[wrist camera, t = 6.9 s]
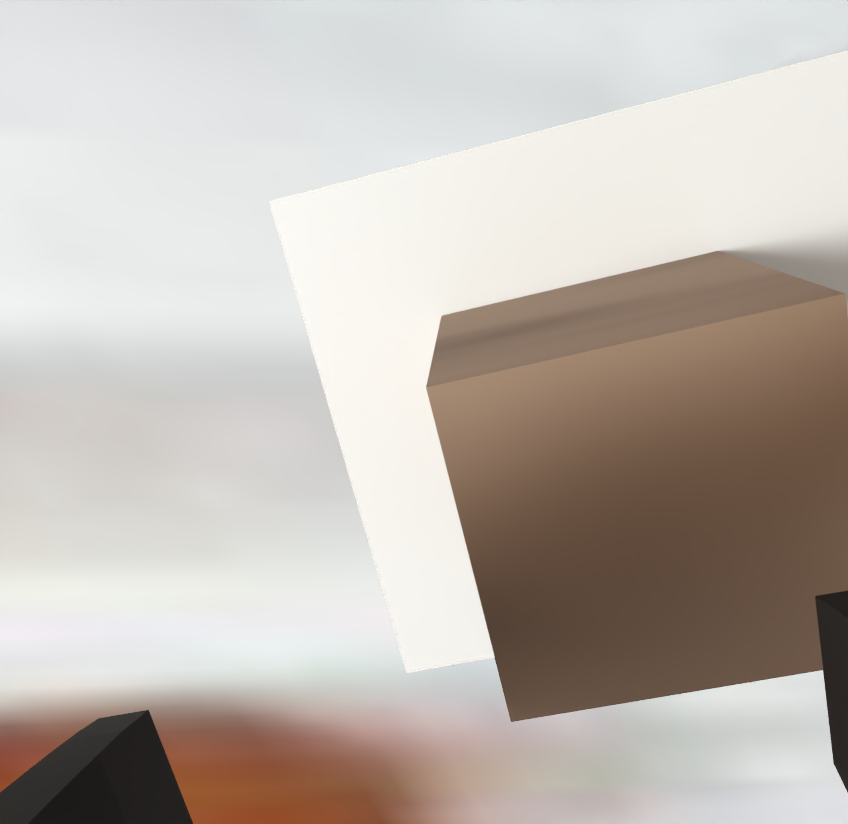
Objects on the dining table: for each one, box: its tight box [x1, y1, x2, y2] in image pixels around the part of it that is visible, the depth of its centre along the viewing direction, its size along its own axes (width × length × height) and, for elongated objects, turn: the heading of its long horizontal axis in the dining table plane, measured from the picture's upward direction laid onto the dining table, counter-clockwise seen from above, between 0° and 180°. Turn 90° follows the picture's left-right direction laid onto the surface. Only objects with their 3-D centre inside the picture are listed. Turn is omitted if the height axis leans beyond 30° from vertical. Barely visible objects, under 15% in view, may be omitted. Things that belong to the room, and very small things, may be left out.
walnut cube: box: [426, 251, 848, 722], centre depth 13 cm, size 5×5×5 cm
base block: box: [269, 50, 848, 673], centre depth 16 cm, size 10×10×3 cm
